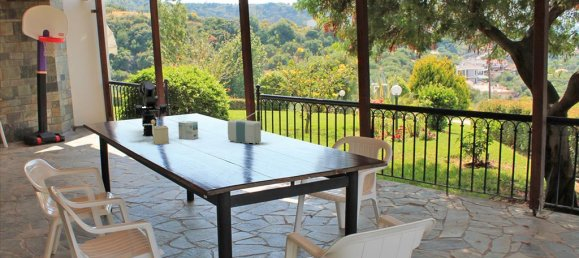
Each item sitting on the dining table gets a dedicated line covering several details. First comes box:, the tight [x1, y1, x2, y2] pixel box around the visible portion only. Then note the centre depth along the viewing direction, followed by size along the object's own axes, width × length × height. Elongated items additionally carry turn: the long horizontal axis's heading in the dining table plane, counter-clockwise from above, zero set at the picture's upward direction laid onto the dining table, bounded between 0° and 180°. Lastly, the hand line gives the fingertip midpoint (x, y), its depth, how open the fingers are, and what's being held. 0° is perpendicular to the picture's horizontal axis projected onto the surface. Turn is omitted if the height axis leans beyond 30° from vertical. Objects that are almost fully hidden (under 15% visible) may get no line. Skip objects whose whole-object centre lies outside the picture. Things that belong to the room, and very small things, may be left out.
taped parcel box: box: [227, 110, 262, 145], centre depth 337 cm, size 21×8×20 cm, turn 56°
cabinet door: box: [151, 120, 156, 136], centre depth 335 cm, size 2×9×9 cm, turn 19°
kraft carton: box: [152, 125, 170, 145], centre depth 337 cm, size 8×10×10 cm
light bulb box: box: [177, 120, 199, 140], centre depth 352 cm, size 11×7×11 cm, turn 71°
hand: (152, 119), depth 340 cm, fingers open, 9 cm apart
